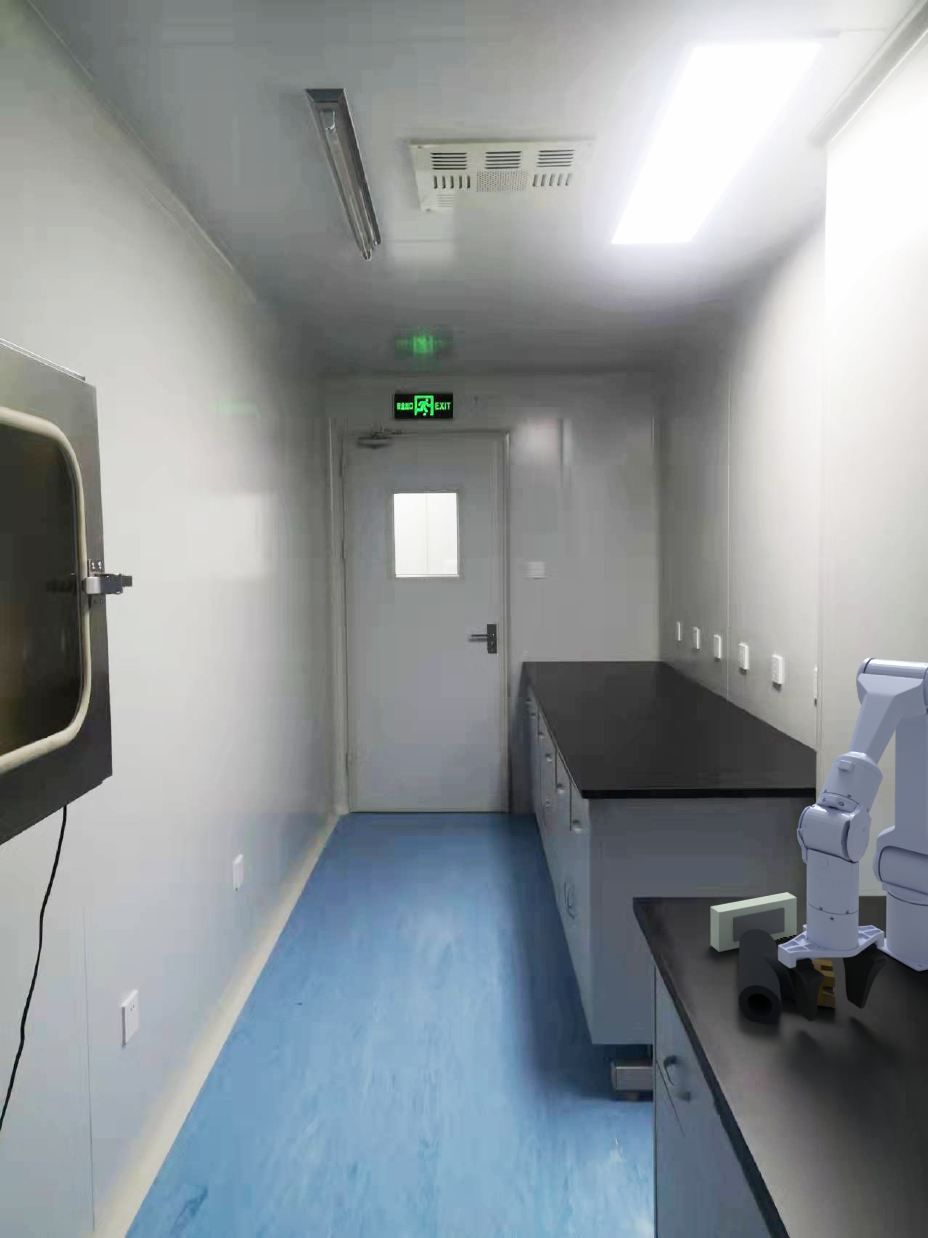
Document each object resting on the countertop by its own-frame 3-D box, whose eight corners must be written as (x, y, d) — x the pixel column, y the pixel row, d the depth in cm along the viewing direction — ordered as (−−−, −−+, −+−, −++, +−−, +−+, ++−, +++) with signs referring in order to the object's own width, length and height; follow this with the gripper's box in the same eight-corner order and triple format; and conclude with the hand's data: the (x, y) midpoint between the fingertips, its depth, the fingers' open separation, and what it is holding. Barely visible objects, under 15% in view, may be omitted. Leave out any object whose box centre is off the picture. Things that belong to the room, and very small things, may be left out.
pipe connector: (827, 936, 101) (840, 996, 87) (827, 973, 101) (840, 1039, 87) (738, 925, 105) (737, 981, 91) (739, 961, 105) (738, 1021, 92)
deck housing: (787, 929, 113) (787, 892, 113) (798, 936, 111) (798, 898, 111) (710, 945, 109) (710, 906, 109) (720, 952, 107) (720, 913, 107)
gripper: (852, 881, 95) (851, 981, 96) (760, 899, 91) (760, 1003, 92) (899, 905, 88) (898, 1012, 89) (802, 925, 84) (802, 1037, 85)
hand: (831, 1010), depth 90 cm, fingers open, 7 cm apart
